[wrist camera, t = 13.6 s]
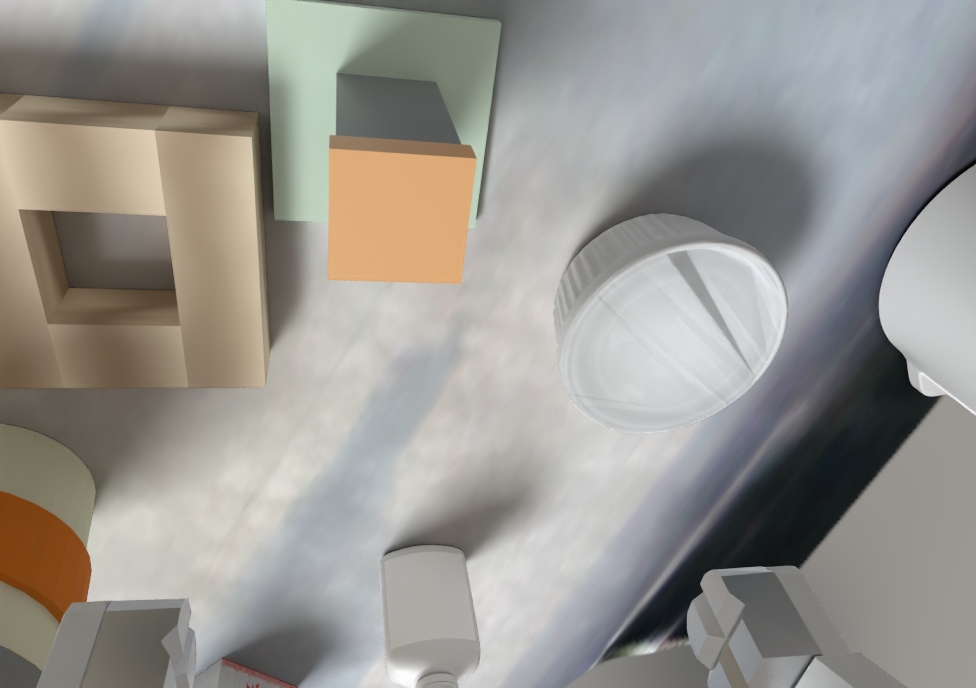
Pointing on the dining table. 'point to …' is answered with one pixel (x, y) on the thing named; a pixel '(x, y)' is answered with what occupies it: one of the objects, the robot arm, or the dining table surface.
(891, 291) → the robot arm
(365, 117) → the plug
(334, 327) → the dining table surface
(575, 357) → the ramekin
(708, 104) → the dining table surface
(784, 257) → the dining table surface
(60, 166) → the socket block
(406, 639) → the eye dropper bottle
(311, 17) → the coaster
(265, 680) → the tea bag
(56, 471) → the reusable coffee cup
